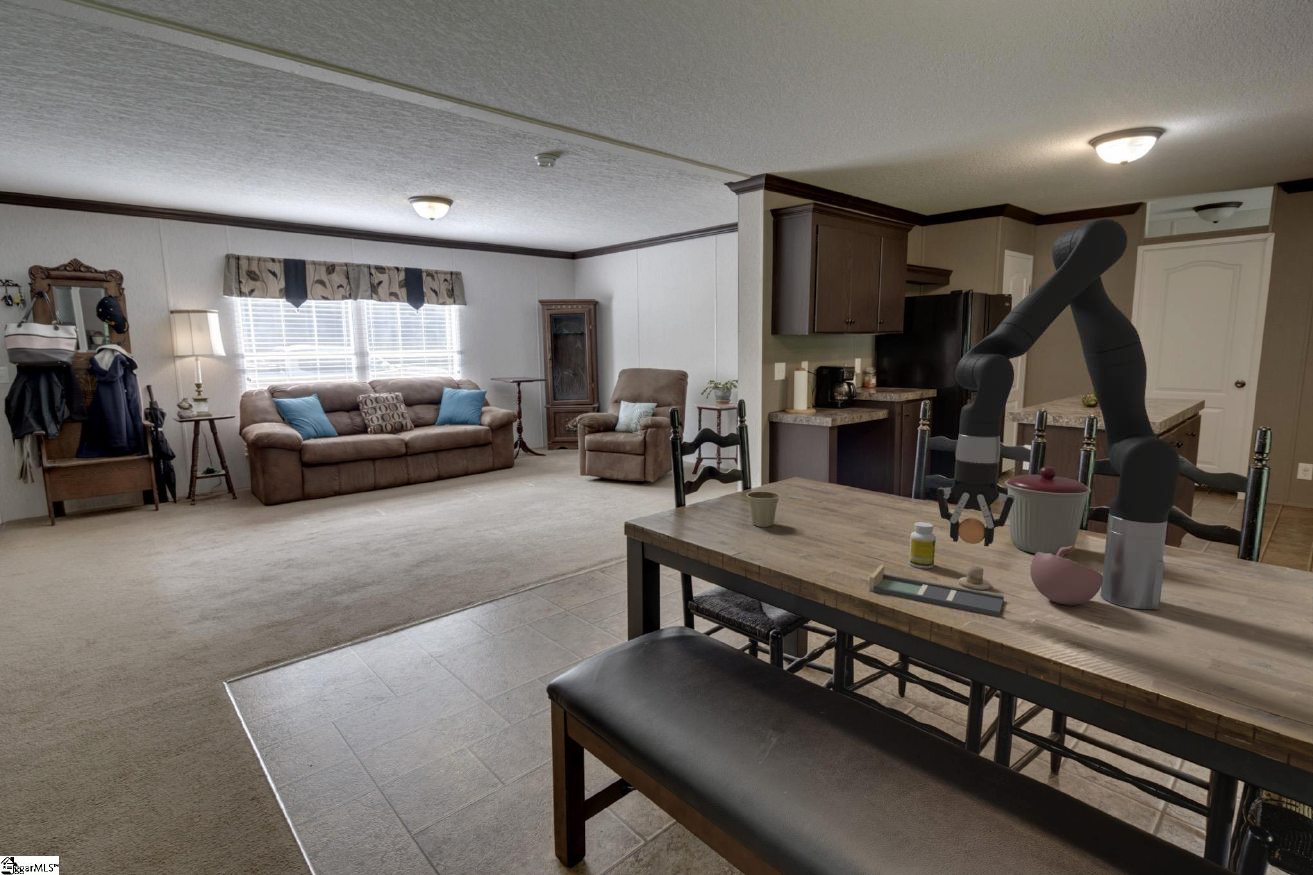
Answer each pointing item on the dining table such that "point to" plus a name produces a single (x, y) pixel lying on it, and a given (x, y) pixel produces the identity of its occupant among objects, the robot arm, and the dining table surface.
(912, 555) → the supplement bottle
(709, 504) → the dining table surface
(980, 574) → the beige brimmed cylinder
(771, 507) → the flower pot
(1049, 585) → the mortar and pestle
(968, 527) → the ball
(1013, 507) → the canister
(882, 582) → the lane
